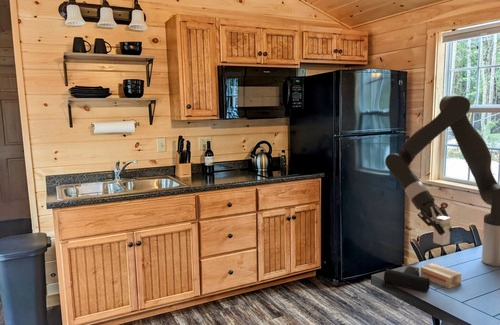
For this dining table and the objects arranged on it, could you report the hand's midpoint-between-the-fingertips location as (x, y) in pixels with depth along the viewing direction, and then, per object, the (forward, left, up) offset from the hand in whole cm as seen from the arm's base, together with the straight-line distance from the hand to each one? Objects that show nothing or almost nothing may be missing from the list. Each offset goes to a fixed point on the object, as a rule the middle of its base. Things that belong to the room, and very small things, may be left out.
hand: (446, 232), depth 141 cm
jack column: (0, -2, -5) cm, 5 cm away
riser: (0, -2, -19) cm, 19 cm away
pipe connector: (+12, -7, -20) cm, 24 cm away
